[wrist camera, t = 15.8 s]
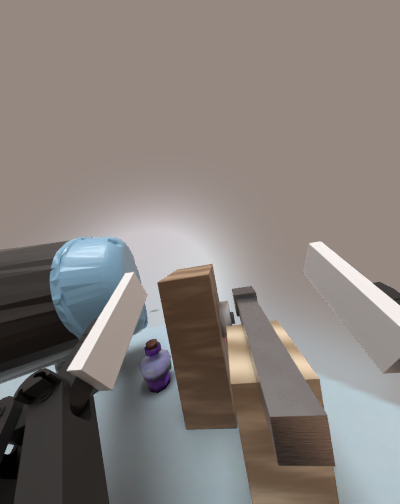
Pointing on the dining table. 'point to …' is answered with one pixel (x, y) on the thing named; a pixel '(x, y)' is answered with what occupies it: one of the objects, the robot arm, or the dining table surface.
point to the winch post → (199, 346)
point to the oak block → (258, 436)
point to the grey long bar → (283, 391)
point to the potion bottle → (156, 366)
